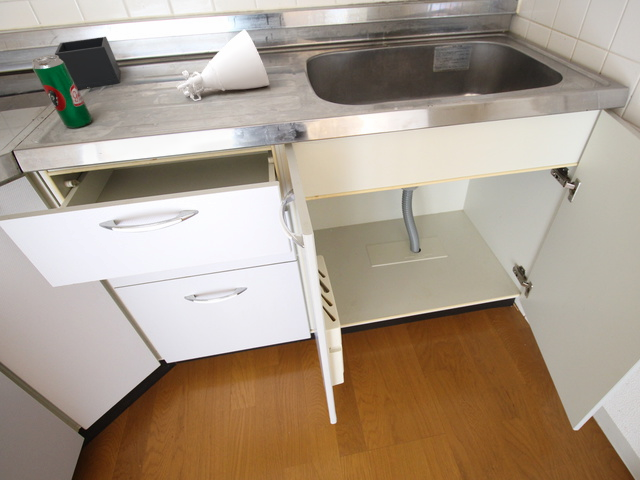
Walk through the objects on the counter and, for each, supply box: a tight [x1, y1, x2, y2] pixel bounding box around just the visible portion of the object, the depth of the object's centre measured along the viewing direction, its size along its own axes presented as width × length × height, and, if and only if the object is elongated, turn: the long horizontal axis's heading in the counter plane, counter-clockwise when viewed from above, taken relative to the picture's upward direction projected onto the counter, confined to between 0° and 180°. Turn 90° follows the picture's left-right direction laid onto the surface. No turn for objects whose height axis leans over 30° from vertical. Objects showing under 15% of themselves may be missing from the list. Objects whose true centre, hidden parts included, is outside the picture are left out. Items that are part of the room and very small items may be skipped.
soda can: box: [31, 54, 93, 129], centre depth 74 cm, size 5×5×12 cm
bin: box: [54, 36, 121, 90], centre depth 94 cm, size 10×10×8 cm
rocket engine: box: [176, 29, 270, 102], centre depth 84 cm, size 12×12×18 cm
